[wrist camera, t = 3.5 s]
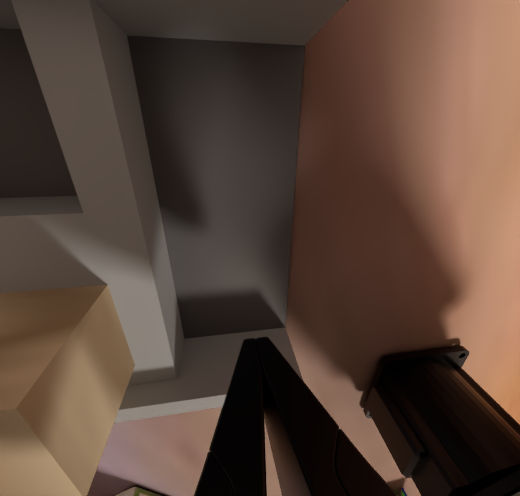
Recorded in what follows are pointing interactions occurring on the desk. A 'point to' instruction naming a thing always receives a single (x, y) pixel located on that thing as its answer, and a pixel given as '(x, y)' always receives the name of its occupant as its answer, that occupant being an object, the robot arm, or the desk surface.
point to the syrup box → (136, 492)
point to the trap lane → (157, 174)
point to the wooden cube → (58, 387)
